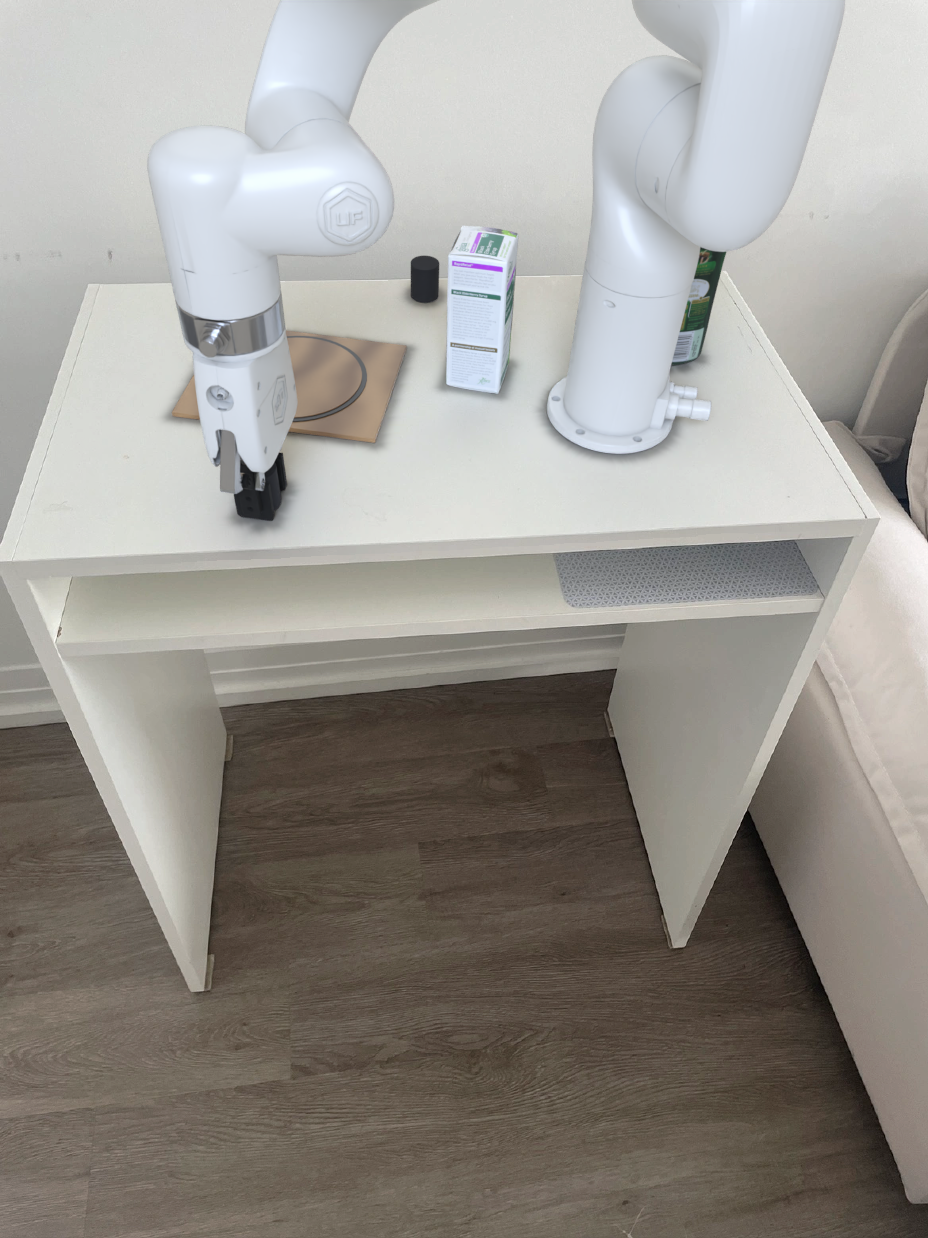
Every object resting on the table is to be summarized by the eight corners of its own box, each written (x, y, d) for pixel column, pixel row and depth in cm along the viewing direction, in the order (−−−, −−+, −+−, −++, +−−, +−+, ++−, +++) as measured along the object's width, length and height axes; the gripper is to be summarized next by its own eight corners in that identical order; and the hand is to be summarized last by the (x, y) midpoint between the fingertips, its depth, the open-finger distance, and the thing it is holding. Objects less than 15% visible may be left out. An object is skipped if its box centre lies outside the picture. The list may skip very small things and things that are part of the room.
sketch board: (406, 349, 97) (406, 343, 96) (375, 443, 87) (374, 437, 86) (224, 326, 98) (223, 320, 98) (172, 416, 88) (170, 410, 87)
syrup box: (499, 395, 92) (511, 260, 81) (443, 386, 93) (447, 251, 82) (509, 363, 96) (522, 230, 85) (454, 355, 97) (460, 221, 85)
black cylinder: (440, 289, 105) (441, 257, 102) (436, 304, 103) (436, 271, 100) (413, 286, 105) (413, 253, 102) (408, 301, 103) (408, 267, 100)
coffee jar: (614, 320, 102) (647, 149, 88) (681, 318, 103) (725, 148, 89) (636, 371, 96) (675, 196, 82) (707, 368, 97) (759, 194, 83)
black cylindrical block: (285, 492, 82) (280, 457, 78) (275, 516, 80) (270, 482, 76) (251, 487, 82) (244, 453, 79) (240, 511, 80) (233, 477, 77)
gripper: (248, 388, 61) (278, 574, 75) (310, 265, 72) (327, 448, 86) (140, 374, 62) (190, 561, 76) (218, 254, 72) (249, 438, 86)
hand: (262, 500), depth 80 cm, fingers closed on black cylindrical block, 3 cm apart
